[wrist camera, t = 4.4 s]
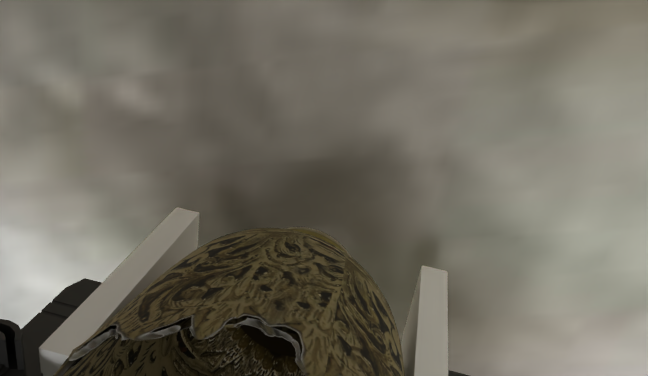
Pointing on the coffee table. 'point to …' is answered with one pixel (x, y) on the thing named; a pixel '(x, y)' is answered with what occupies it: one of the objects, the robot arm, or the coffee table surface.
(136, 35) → the coffee table surface
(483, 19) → the coffee table surface
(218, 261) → the ornate bell
